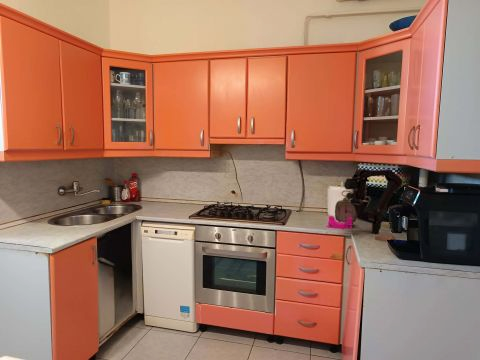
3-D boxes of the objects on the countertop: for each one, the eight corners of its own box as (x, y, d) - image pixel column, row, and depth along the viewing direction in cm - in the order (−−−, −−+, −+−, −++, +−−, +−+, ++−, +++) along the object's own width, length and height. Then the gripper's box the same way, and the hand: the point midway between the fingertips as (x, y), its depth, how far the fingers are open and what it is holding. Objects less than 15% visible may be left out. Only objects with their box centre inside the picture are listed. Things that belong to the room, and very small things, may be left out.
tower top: (380, 233, 191) (380, 228, 191) (393, 234, 188) (393, 229, 187) (378, 236, 185) (378, 231, 185) (391, 237, 182) (392, 232, 181)
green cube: (382, 229, 189) (383, 221, 189) (390, 230, 186) (391, 222, 186) (380, 230, 186) (380, 222, 185) (388, 231, 183) (389, 224, 183)
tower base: (380, 237, 193) (380, 232, 193) (395, 240, 187) (396, 235, 187) (375, 240, 186) (375, 235, 186) (391, 243, 180) (391, 238, 180)
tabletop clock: (334, 226, 219) (335, 190, 217) (336, 223, 228) (336, 189, 225) (356, 228, 214) (357, 191, 211) (357, 225, 222) (358, 190, 220)
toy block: (328, 228, 215) (328, 217, 214) (329, 226, 221) (329, 215, 220) (351, 230, 209) (351, 219, 208) (351, 228, 215) (352, 217, 214)
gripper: (354, 186, 209) (353, 209, 211) (342, 189, 195) (341, 214, 197) (371, 188, 202) (370, 211, 203) (360, 190, 188) (359, 216, 189)
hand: (360, 213), depth 198 cm, fingers open, 9 cm apart
